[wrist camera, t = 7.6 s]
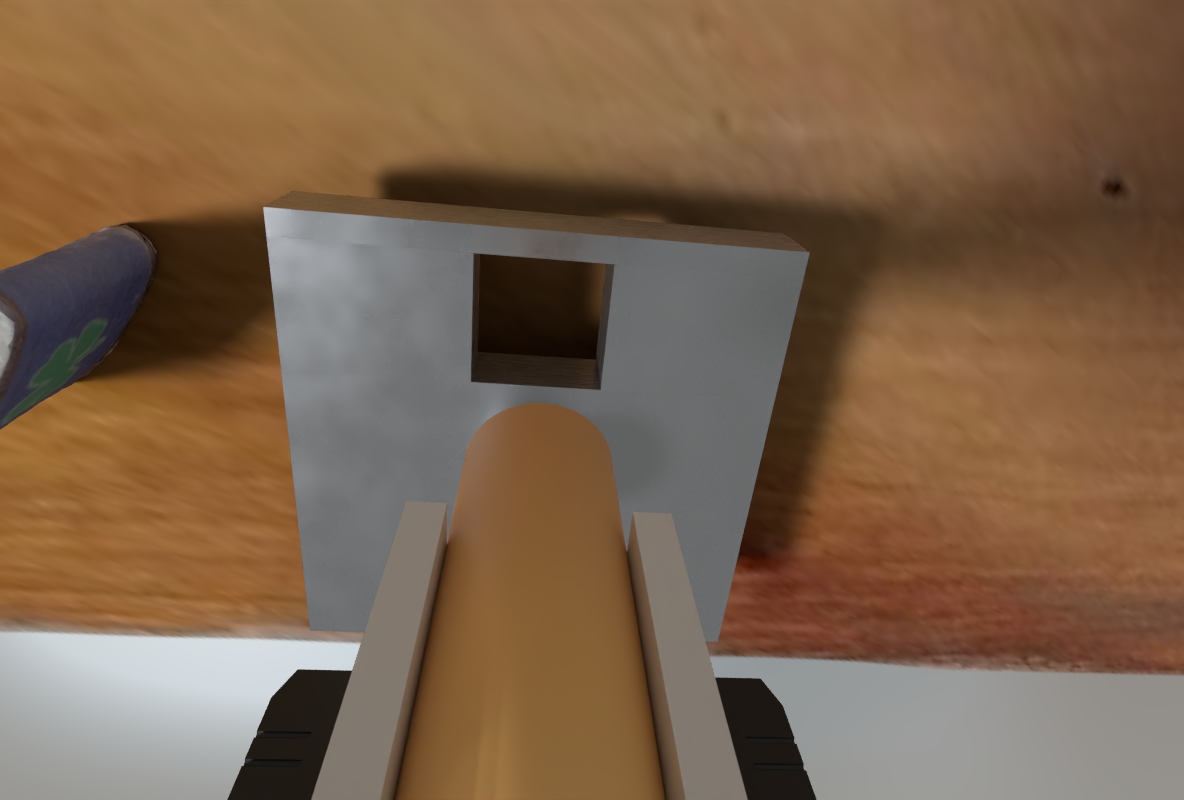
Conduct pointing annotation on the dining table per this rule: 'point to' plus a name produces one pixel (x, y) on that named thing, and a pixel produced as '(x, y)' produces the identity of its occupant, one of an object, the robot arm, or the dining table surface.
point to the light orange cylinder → (534, 629)
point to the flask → (68, 313)
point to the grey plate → (517, 372)
